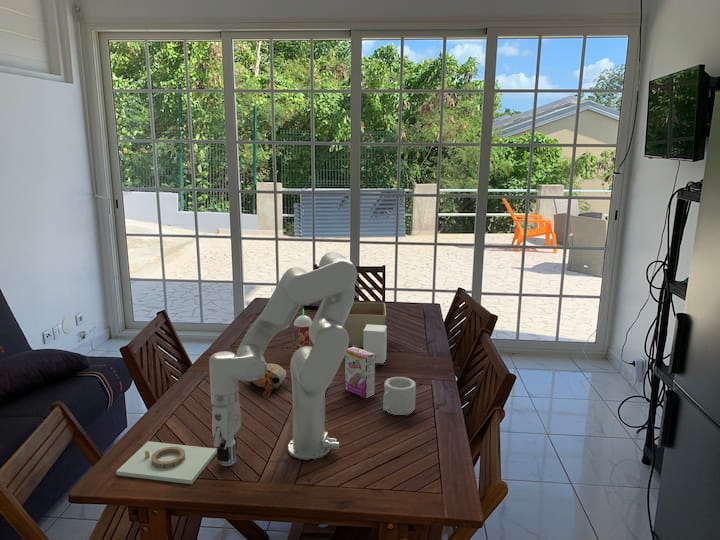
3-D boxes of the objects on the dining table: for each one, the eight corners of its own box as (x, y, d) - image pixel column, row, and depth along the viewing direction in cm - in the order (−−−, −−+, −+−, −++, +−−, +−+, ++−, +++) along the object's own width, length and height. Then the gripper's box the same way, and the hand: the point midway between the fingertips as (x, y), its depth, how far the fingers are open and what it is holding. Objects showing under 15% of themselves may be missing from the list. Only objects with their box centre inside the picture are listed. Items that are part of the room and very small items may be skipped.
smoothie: (317, 352, 242) (316, 308, 238) (305, 358, 236) (304, 313, 231) (302, 348, 247) (301, 305, 243) (290, 354, 240) (289, 310, 236)
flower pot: (385, 351, 245) (386, 314, 242) (343, 350, 245) (343, 314, 242) (384, 336, 264) (385, 302, 260) (344, 336, 264) (344, 302, 260)
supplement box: (386, 358, 237) (387, 325, 233) (384, 366, 228) (384, 331, 225) (366, 356, 238) (366, 323, 235) (362, 364, 229) (362, 330, 226)
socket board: (217, 452, 162) (216, 442, 161) (191, 484, 146) (191, 473, 146) (148, 444, 166) (147, 435, 165) (116, 475, 150) (115, 464, 149)
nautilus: (282, 402, 196) (240, 403, 196) (289, 374, 216) (251, 375, 217) (280, 381, 194) (238, 383, 194) (288, 355, 214) (249, 357, 214)
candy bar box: (343, 390, 204) (344, 349, 201) (353, 386, 208) (353, 345, 204) (366, 400, 197) (366, 356, 193) (375, 395, 200) (376, 353, 197)
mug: (398, 399, 198) (398, 373, 196) (421, 409, 190) (422, 382, 188) (371, 411, 188) (372, 384, 186) (395, 422, 181) (396, 394, 179)
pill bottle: (229, 455, 160) (228, 429, 159) (239, 461, 158) (238, 434, 156) (215, 462, 157) (214, 435, 155) (226, 468, 154) (224, 441, 152)
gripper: (225, 411, 144) (227, 473, 148) (248, 384, 160) (250, 441, 164) (198, 408, 145) (201, 470, 149) (224, 382, 162) (227, 439, 166)
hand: (227, 454), depth 157 cm, fingers closed on pill bottle, 4 cm apart
